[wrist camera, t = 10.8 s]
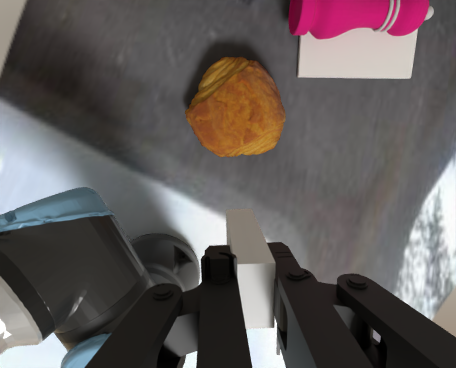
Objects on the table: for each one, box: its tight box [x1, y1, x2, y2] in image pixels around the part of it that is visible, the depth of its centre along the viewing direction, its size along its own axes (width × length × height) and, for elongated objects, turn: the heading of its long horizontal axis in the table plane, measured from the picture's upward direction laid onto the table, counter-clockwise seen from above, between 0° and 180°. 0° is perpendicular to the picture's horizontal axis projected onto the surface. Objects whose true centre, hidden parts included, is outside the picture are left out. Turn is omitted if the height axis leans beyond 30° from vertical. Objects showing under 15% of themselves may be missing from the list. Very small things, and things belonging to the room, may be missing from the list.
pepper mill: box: [289, 0, 434, 40], centre depth 40 cm, size 7×7×20 cm
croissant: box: [185, 57, 286, 157], centre depth 43 cm, size 14×16×8 cm
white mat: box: [297, 28, 418, 79], centre depth 43 cm, size 18×16×1 cm
